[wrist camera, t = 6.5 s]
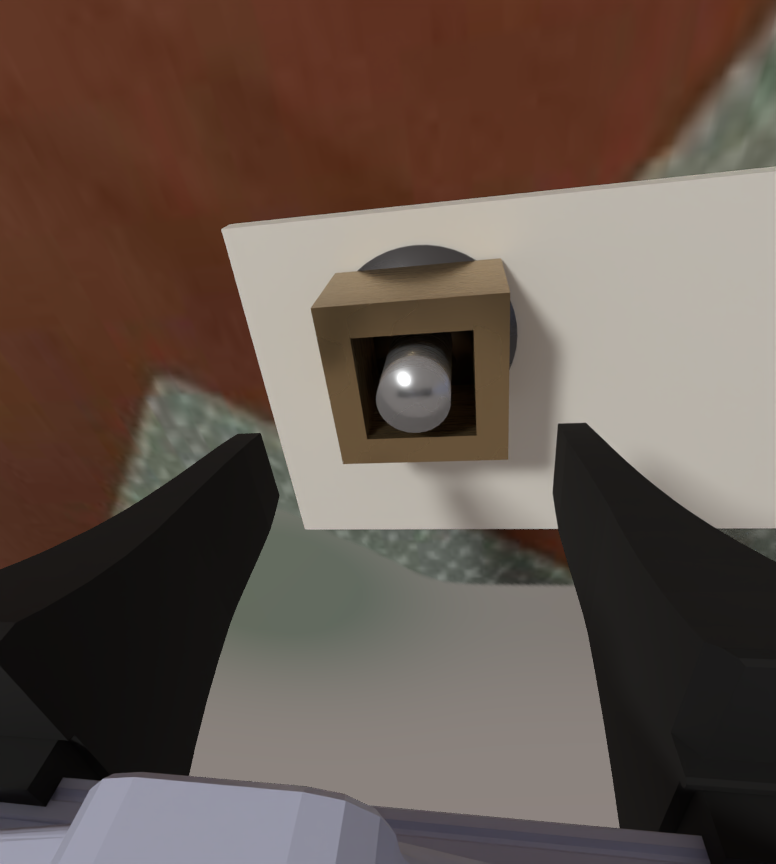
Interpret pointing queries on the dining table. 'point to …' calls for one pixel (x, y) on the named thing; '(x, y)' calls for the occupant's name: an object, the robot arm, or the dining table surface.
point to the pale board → (551, 346)
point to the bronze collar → (416, 314)
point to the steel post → (423, 355)
